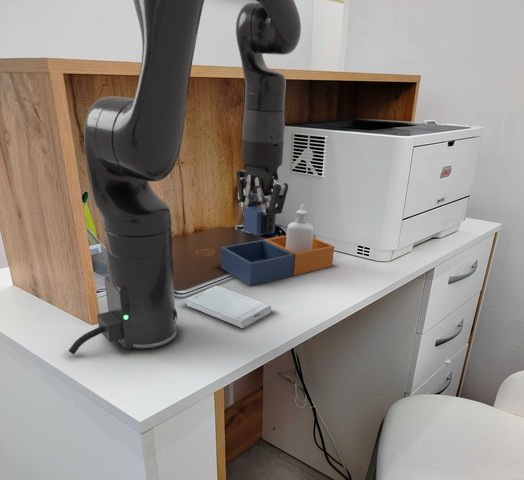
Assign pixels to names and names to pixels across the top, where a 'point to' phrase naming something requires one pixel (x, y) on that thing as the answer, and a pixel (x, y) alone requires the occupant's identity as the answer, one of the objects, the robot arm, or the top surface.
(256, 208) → the blue block
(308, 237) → the eye dropper bottle
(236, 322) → the hard drive
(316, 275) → the top surface
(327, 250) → the amber bin
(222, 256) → the blue bin
